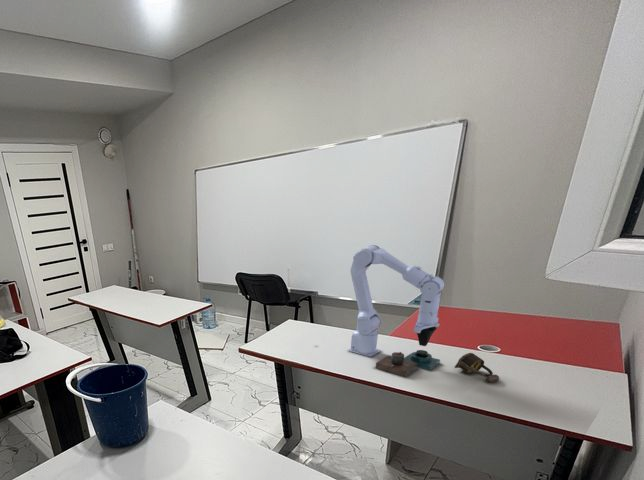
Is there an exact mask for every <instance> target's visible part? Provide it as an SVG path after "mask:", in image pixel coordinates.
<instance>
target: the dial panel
mask: <svg viewBox="0 0 644 480" xmlns="http://www.w3.org/2000/svg"><path fill="white" fill-rule="evenodd" d="M391 357H392V355H389V354H388V355H387V356H385V357H383V358H382V359H379V360H377V362H375V369H377V370H380V371H383V372H387V373H390V374H394V375H397V376H401V377H403V378H407V377H408V376H409V375H411V374H412V373H414V372H415V371H416V370H418V368H419V367H418V363H416V362H412V361H408V360H404V361H403V364H402V365H394V364H392V363H391Z"/></svg>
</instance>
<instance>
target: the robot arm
mask: <svg viewBox="0 0 644 480" xmlns="http://www.w3.org/2000/svg"><path fill="white" fill-rule="evenodd" d="M371 265H384V266H385V267H388V268H390V269H392V270H393V271H395V272H397V273H399V274H400V275H401V277H402V279H403V280H404V281H405V282H406V283H409V284H410V285H412V286H414V288H417V289H418V290H419V291H420V293H421V298H420V303H419V310H418V316H417V320H416V323H415V326H414V327H413V333H416V335H417V341H418V345H419V346H422V347H427V345H429V344H428V343H429V341H430V340H431V337H432V335H434V333H435V332H436V330H437V328H438V327H440V325H441V323H439V317H438V315H439V309H440V303H441V295H442V292H441V291H443V290H444V288H445V280H443V279H442V278H441V277H440V276H435V275H434V274H432V273H431V274H430V273H428V272H426V271H424V270H423V269H422V267H421V266H420V265H418V266H417V265H411V266H409V265H408V264H406V263H405V262H403V261H402V260H400V259H399V258H397V257H395V256H394V255H393V254H391V253H390V252H388V251H387V250H386V249H384V248H382V247H380V246H378V245H377V244H372V245H371V244H370V245H368V246H367V247H364V248H361V249H359V250H358V251H357V252H356V253H355V254H354V255H353V256H352V263H351V266H350V272H349V273H350V277H351V282H352V285H353V291H354V295H355V300H356V305H357V308H358V315H357V317H356V318H357V319H356V320H357V324H356V329H355V330H354V331H353V332H352V335H351V338H350V339H351V340H350V349H349V352H351V353H354V354H359V355H363V356H366V357H369V358H370V357H373V356H375V355H376V354H378V353H380V352H381V351H382V350H381V349H378V347H377V345H378V338H379V337H378V336H379V330H378V329H379V328H380V327H381V326H382V319H381V317H380V316H379V314H378V311H377V310H376V309H375V308H374V305H373V300H372V296H371V291H370V285H369V281H368V276H367V270H369V268H370V267H371Z"/></svg>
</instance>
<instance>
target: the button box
mask: <svg viewBox="0 0 644 480" xmlns="http://www.w3.org/2000/svg"><path fill="white" fill-rule="evenodd" d="M404 360H408V361H412V362H416V363H418V368H419V369H423V370H427V371H431V370H433V369H434V368H435V367H437V366H438V365H440V363H441V359H439V358H435V357H433V356H432V354H430V353H429V352H428V354H427V357H418V356H416V351H413V352H411V353H410V354H408V355H406V356H404Z"/></svg>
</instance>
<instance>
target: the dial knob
mask: <svg viewBox="0 0 644 480" xmlns="http://www.w3.org/2000/svg"><path fill="white" fill-rule="evenodd" d="M391 356H392V357H391V363H392V364H394V365H402V364H403V361H404V358H405V354H404V353H403V352H402V351H399V352H395V351H394V352H392V353H391Z"/></svg>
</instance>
